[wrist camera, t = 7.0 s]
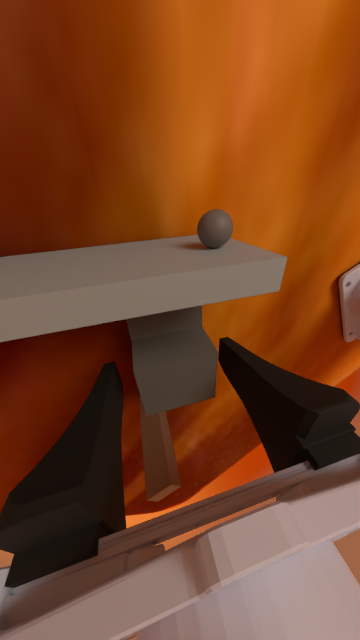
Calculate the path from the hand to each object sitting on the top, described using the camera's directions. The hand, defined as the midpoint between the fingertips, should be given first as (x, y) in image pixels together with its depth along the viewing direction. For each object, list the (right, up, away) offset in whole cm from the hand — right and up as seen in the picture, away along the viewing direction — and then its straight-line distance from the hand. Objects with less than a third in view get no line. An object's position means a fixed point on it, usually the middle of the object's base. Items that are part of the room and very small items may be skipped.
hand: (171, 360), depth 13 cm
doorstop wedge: (-1, +3, +1) cm, 3 cm away
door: (-4, +7, -3) cm, 8 cm away
